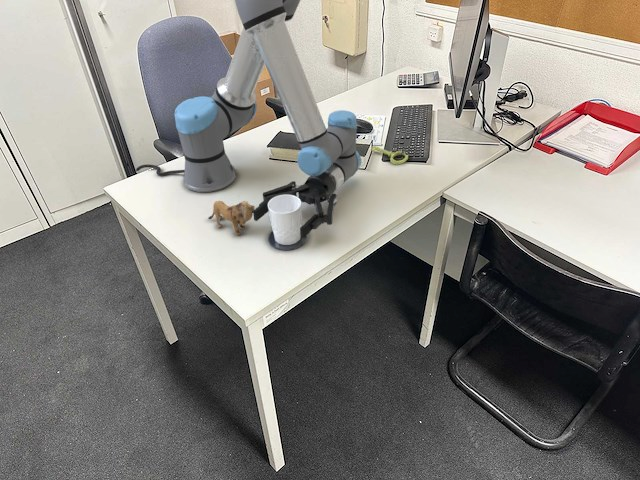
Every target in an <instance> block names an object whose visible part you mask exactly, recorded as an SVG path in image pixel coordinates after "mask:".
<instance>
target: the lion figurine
mask: <svg viewBox="0 0 640 480" xmlns="http://www.w3.org/2000/svg"><path fill="white" fill-rule="evenodd" d="M212 209H213V210H212V214H211V215H210V216H208V220H211V219H213V218H214V217H215V222H216V227H217V228H218V229H222V228H223V225H222V224H221V222H220V220H222V219H223V218H224V219H225V220H226V221H227V222H231V224H232V226H233V230H234V234H235V235H236V236H240V235H241V232H240V230H239V229H241V230H245V229H246V226H245V224H246V223H247V222H249V221H250V220H251V219H252V218H253V217H254V215H253V211H254V210H255V209H256V208H255V205H251V204H250V203H249V202H248V201H246V200H243V201H240V202H239V203H237V204H235V205H232V206H229V205H227V204H226V203H225V202H224V201H222V200H216V201H214V203H213V207H212Z"/></svg>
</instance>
